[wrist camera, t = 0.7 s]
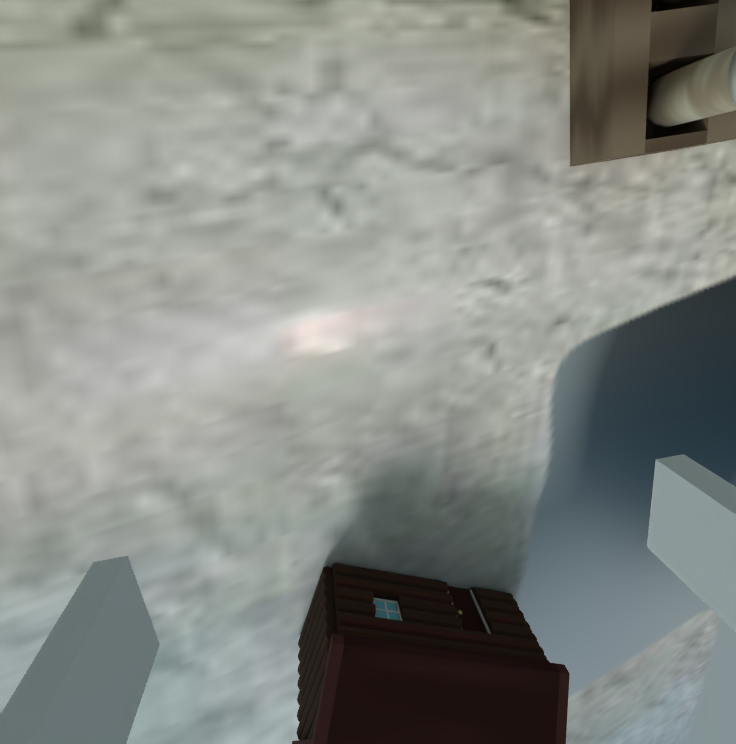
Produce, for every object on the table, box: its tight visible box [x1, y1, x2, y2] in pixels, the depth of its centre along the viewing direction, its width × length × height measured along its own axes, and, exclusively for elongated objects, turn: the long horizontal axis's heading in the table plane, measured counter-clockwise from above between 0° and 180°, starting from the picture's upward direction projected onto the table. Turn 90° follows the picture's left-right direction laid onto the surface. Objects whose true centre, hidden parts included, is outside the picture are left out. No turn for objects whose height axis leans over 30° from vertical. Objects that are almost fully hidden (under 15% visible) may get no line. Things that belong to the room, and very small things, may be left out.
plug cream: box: [646, 46, 736, 128], centre depth 27 cm, size 4×4×8 cm
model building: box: [292, 564, 569, 744], centre depth 40 cm, size 21×12×15 cm, turn 72°
